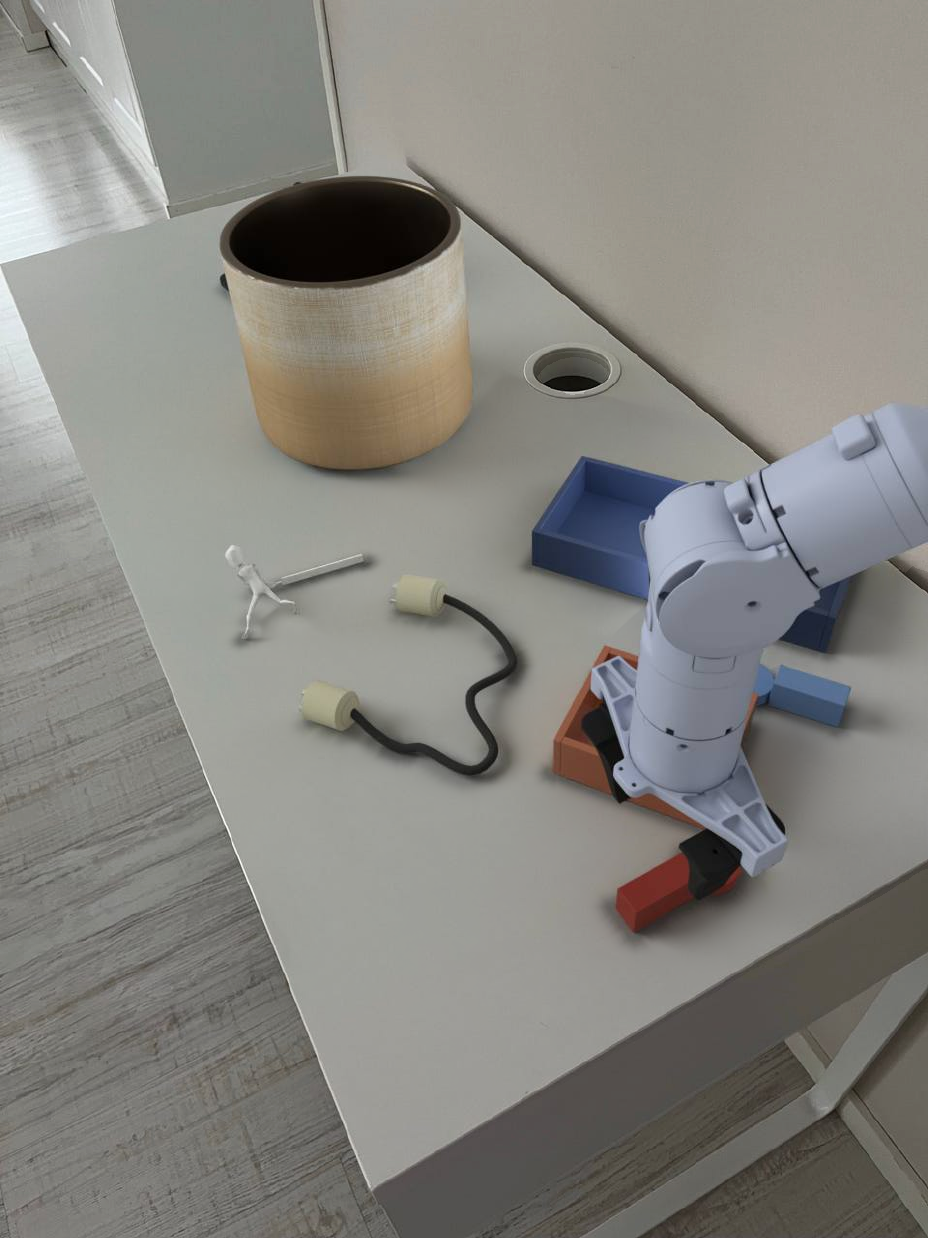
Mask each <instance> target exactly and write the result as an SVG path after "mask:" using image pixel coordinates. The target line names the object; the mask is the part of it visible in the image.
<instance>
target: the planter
mask: <svg viewBox="0 0 928 1238" xmlns="http://www.w3.org/2000/svg"><path fill="white" fill-rule="evenodd" d="M462 227H463V226H462V218H461V214H460V212H459V209H458V208H457V206H456V205H455V204H454V202H453V201H452V200H451V199H450V198H449V197H447V196H446V195H445V194H443V193H442V192H440V191H438V190H436V189H434V188H432V187H430V186H427V185H425V184H422V183H418V182H416V181H411V180H407V179H402V178H397V177H390V176H380V175H379V176H377V175H348V176H334V177H326V178H320V179H314V180H310V181H305V182H301V183H300V184H297V185H293V184H292V185H290V186H287V187H284V188H281V189H280V188H279V189H278V190H275V191H273V192H270V193H268V194H265V195H263V196H261V197H259V198H257V199H255V200H254V201H252V202H250V203H249V204H247V205H245V206H244V207H242V208H241V209H240V210H239V211H237V212H236V213H235V214H233V215H232V216H231V218H230V219H229V220H228V221H227V222H226V224H225V226H224V227H223V228H222V230H221V232H220V236H219V241H218V247H219V252H220V257H221V262H222V266H223V270H224V273H225V275H226V279H227V283H228V288H229V291H228V292H229V296H230V301H231V305H232V310H233V314H234V317H235V323H236V327H237V332H238V336H239V341H240V345H241V350H242V355H243V359H244V364H245V369H246V373H247V378H248V383H249V387H250V392H251V396H252V401H253V405H254V409H255V410H254V411H255V413H256V417H257V420H258V422H259V425H260V427H261V430H262V432H263V434H264V436H265V438H266V439H267V440H268V441H269V443H271V444H272V445H273V447H275V448H276V449H277V450H279V451H280V452H281V453H283V454H284V455H287V456H288V457H290V458H291V459H294V460H296V461H299V462H302V463H304V464H307V465H311V466H315V467H318V468H324V469H329V470H337V471H369V470H377V469H383V468H388V467H392V466H396V465H399V464H400V465H401V464H403V463H407V462H409V461H412V460H414V459H416V458H419V457H421V456H423V455H426V454H428V453H429V452H431V451H434V450H435V449H437V448H438V447H439V446H441V445H442V444H444V443H445V442H447V441H448V440H449V439H450V438H452V436H454V434H456V432H457V431H458V430H459V429H460V428H461V427H462V426H463V424H464V422H465V421H466V419H467V418H468V416H469V414H470V411H471V407H472V401H473V370H472V358H471V357H472V355H471V343H470V342H471V341H470V330H469V329H470V328H469V318H468V304H467V291H466V290H467V289H466V275H465V260H464V258H465V257H464V243H463V228H462Z"/></svg>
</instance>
